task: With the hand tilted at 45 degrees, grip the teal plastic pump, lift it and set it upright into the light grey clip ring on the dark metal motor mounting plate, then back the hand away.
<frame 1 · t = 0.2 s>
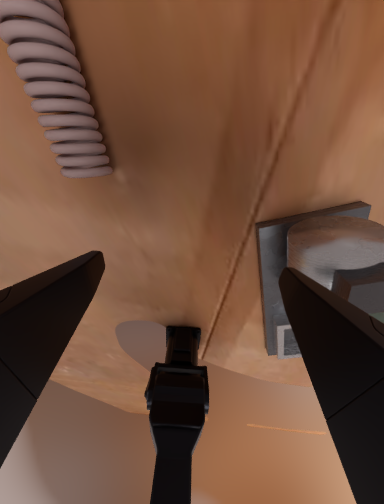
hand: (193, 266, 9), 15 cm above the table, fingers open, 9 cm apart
coil: (65, 68, 17), on the table
motor plate: (298, 322, 33), on the table
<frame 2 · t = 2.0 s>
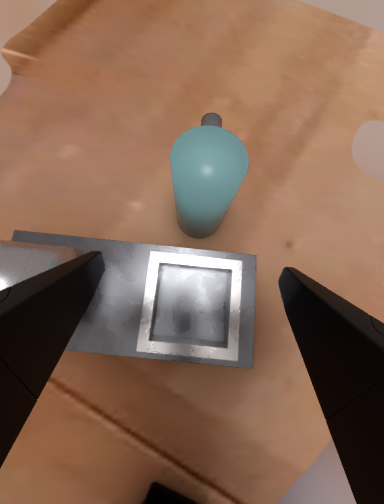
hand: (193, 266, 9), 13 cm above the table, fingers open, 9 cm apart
pump: (198, 217, 24), on the table
motor plate: (191, 301, 22), on the table
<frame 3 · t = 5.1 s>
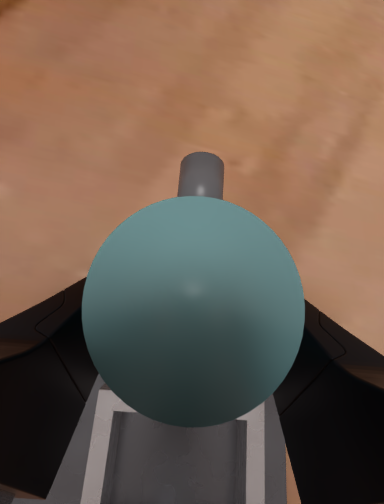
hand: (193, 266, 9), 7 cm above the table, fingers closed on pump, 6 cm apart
pump: (188, 293, 15), on the table, touching gripper
motor plate: (177, 445, 13), on the table
when the fingers open (9 cm above the table, at t = 8.3 s): pump drops 1 cm, resting on motor plate.
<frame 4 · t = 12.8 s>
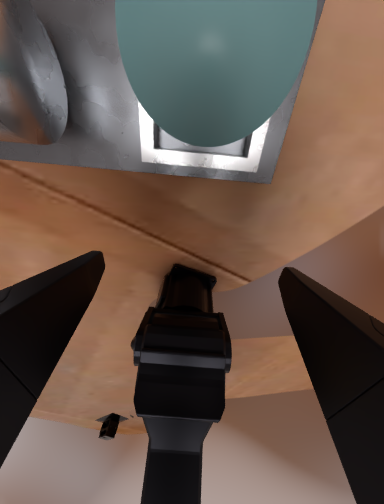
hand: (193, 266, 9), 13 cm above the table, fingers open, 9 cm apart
build plate: (112, 416, 60), on the table
pump: (205, 98, 15), point 2 cm above the table, touching motor plate
motor plate: (205, 99, 16), on the table
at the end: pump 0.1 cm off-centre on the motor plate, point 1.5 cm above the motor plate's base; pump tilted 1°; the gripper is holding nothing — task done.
